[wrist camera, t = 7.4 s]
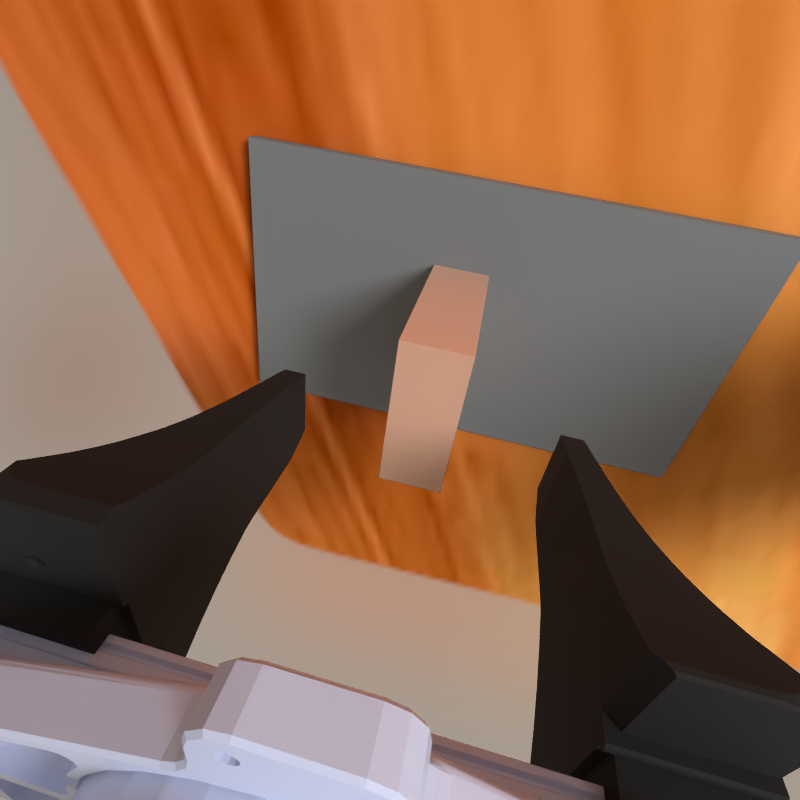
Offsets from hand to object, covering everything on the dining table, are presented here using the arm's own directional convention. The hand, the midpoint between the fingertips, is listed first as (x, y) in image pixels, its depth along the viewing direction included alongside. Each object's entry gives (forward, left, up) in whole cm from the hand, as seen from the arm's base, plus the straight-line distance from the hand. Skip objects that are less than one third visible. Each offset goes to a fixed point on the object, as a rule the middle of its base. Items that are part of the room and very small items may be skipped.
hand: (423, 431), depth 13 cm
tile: (0, 0, -6) cm, 6 cm away
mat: (-1, 0, -7) cm, 7 cm away
